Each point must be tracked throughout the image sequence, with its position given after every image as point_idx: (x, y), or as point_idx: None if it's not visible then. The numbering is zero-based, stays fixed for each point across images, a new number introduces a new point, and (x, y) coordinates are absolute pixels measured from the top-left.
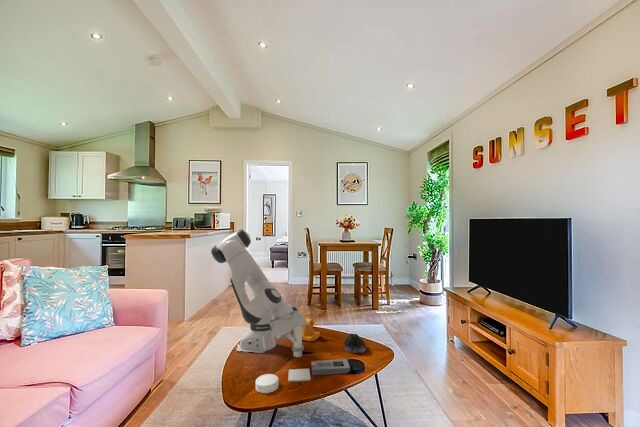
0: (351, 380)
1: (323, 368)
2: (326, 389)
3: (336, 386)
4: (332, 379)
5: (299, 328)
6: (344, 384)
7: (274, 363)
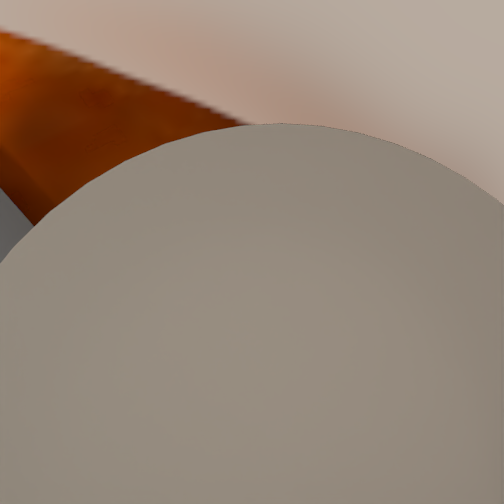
0: (14, 43)
1: (19, 235)
2: (211, 123)
3: (142, 89)
4: (75, 152)
5: (403, 152)
6: (89, 60)
7: None
